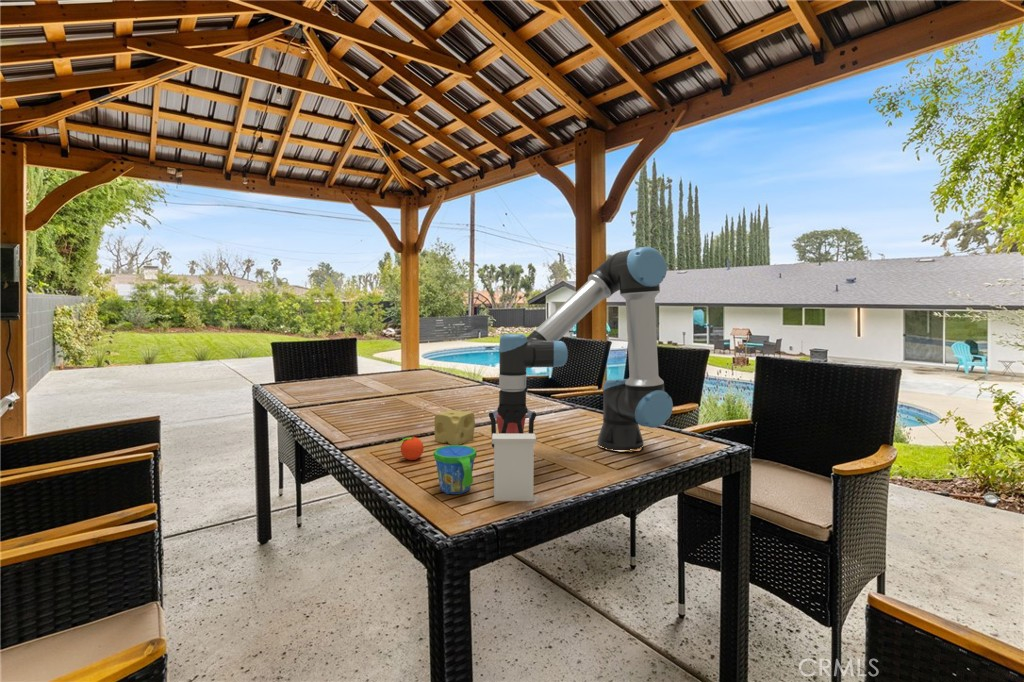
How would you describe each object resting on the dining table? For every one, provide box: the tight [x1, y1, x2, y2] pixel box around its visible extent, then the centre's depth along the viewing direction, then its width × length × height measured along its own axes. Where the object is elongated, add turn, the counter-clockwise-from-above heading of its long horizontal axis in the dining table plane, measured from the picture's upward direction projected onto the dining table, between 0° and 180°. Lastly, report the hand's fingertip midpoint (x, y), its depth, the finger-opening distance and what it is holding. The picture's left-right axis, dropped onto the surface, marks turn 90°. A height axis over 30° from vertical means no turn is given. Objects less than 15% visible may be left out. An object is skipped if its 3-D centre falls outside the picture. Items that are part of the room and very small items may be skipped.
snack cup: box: [433, 444, 478, 495], centre depth 118 cm, size 16×10×10 cm
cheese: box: [434, 409, 476, 446], centre depth 165 cm, size 10×11×10 cm
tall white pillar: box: [491, 433, 537, 502], centre depth 117 cm, size 10×12×15 cm
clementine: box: [398, 436, 425, 461], centre depth 143 cm, size 8×7×7 cm
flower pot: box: [496, 413, 527, 434], centre depth 165 cm, size 11×11×10 cm
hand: (512, 471), depth 132 cm, fingers closed on rail, 4 cm apart
